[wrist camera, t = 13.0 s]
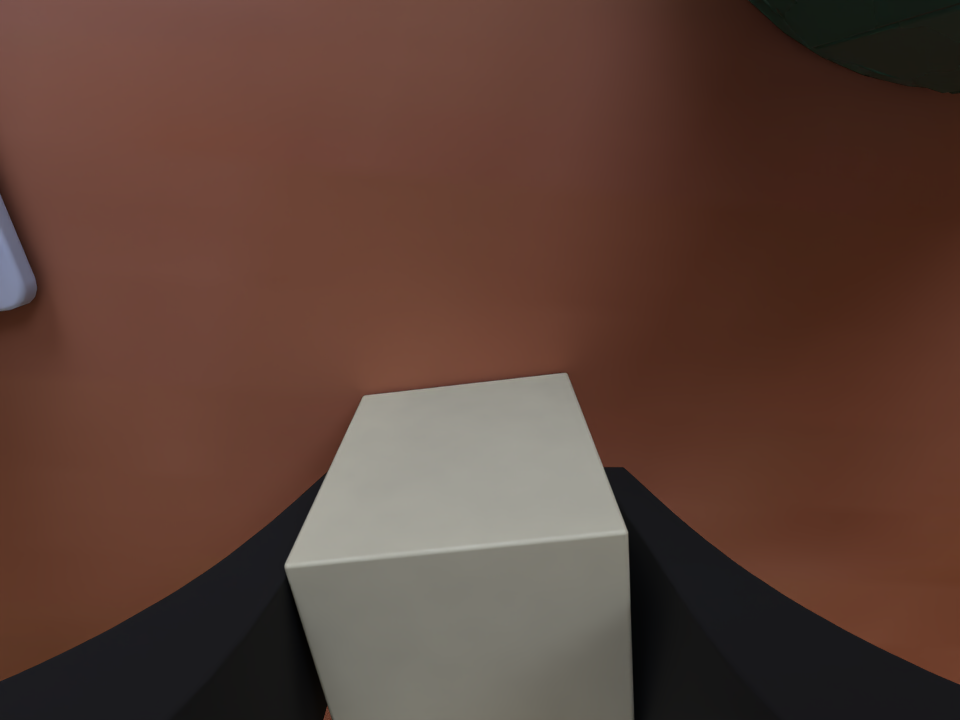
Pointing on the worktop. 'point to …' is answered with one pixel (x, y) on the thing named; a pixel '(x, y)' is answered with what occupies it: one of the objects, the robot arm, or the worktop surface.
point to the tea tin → (879, 37)
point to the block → (468, 561)
